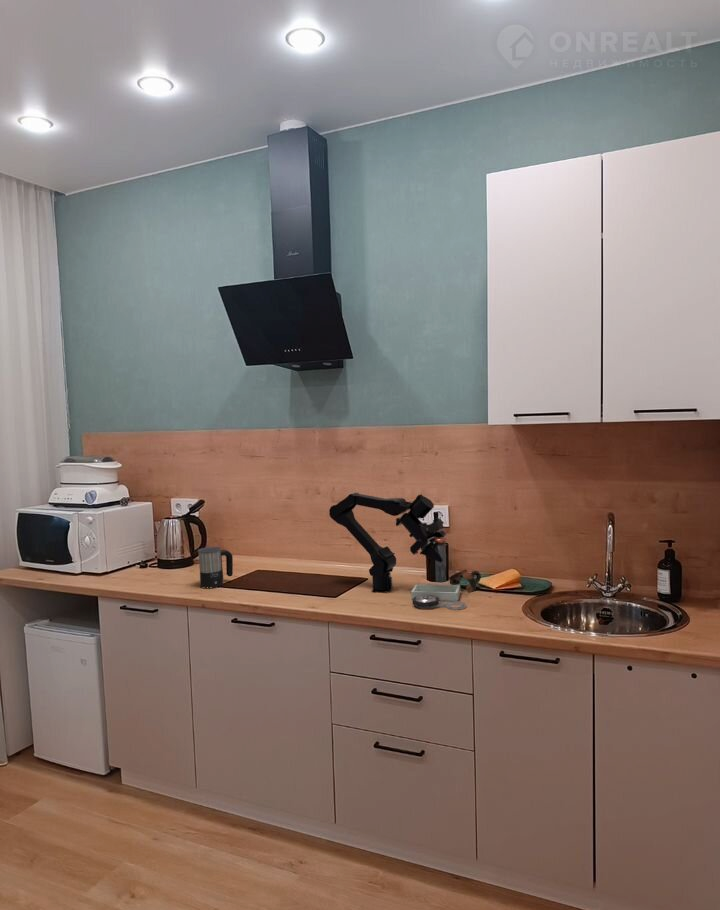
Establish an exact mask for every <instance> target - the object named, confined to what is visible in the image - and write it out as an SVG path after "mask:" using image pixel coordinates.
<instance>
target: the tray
mask: <svg viewBox="0 0 720 910" xmlns="http://www.w3.org/2000/svg"><path fill="white" fill-rule="evenodd" d="M421 595H433V596H436V597H439V602H452V601H459V599H460V596H461V584H460V585H456V584H424V583H423V584H419V583H418V584H414V587H413V588H412V589H411V592H410V596H411V601H412V600H413V598H414V597H417V596H421Z"/></svg>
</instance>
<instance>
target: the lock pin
mask: <svg viewBox="0 0 720 910" xmlns="http://www.w3.org/2000/svg"><path fill="white" fill-rule="evenodd" d="M434 542H435V549H436V551H437V552H438V554H439V555H440V556H441V558H442V560H443V561H442V562H439V561H436V560H435V582H436V583H446V582H447V559H446V555H447V553H446V543H447V537H445V536H444V537H436V538H434Z"/></svg>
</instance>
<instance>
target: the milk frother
mask: <svg viewBox="0 0 720 910" xmlns="http://www.w3.org/2000/svg"><path fill="white" fill-rule="evenodd" d="M197 553H198V565H199V566H198V567H199V576H200V578H199V579H200V581H199V582H200V585H199V587H200V586H201V587H206V588H207V587H208V588H209V589H211V588H210V587H217V588H219V587H218V586H220V587H222V586H224V572H223V570H224V569H223V559H222V557H223V556H225V564H226V565H225V567H226V568H225V569H226V572H225V573H226V575H227V576H228V577H232V576H233V573H234V572H233V571H234V570H233V569H234V568H233V563H234V562H233V560H234V559H233V554H232V553H231V552H230V551H229V550H226V549H222V548H221V547H220V546H207V547H202V548H199V549H198V550H197ZM221 585H222V586H221ZM201 587H200V588H201ZM206 588H205V589H206Z"/></svg>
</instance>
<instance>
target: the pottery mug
mask: <svg viewBox="0 0 720 910" xmlns="http://www.w3.org/2000/svg"><path fill="white" fill-rule="evenodd" d="M481 575H482V574H481V573H480V571H478V570H473V571H472V572H469V571H468V570H467V569H466V568H464V569H463V570H460V571H458V572H456V573H453V574H452V575H451V576H449V578H448V579H449V585H456V584H459V583H461V582H460V581H462V580H461V579H462V578H463V579H464V580H466V581H467V582H468V583H469V584H468V585H467V586H465V589H466V591H467V593H472V592H473V591H476V590H477V589H476V586H477V585H476V584H479V582H480V580H481V579H482V576H481ZM475 576H476V578H475Z"/></svg>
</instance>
